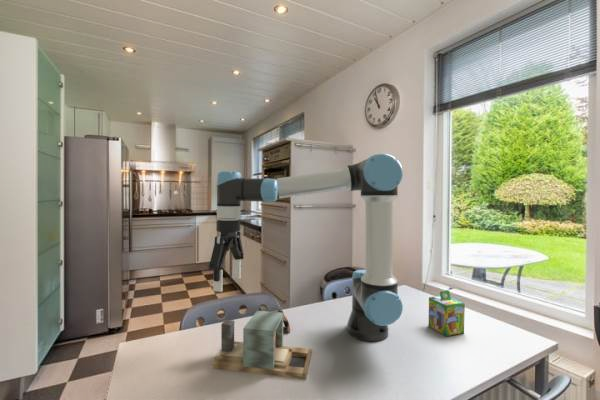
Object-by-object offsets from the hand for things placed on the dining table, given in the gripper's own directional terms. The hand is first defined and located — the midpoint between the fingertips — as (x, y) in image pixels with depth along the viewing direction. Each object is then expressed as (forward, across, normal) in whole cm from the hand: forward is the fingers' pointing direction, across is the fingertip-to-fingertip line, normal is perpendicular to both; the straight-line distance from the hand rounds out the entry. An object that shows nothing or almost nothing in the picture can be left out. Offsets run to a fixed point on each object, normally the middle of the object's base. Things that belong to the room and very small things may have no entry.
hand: (227, 284), depth 92 cm
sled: (+20, +2, +10) cm, 23 cm away
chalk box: (+22, -32, +76) cm, 85 cm away
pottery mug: (+22, -18, +12) cm, 31 cm away
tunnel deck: (+22, +2, +14) cm, 26 cm away
